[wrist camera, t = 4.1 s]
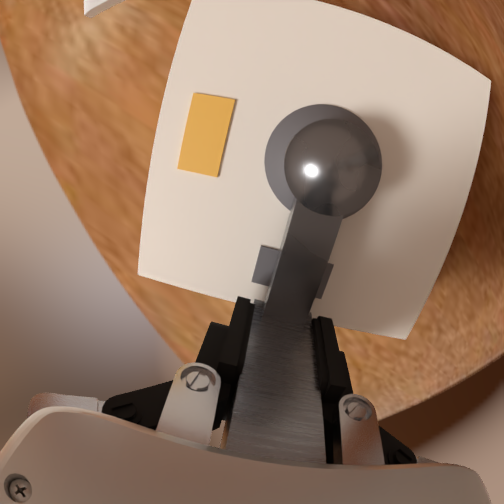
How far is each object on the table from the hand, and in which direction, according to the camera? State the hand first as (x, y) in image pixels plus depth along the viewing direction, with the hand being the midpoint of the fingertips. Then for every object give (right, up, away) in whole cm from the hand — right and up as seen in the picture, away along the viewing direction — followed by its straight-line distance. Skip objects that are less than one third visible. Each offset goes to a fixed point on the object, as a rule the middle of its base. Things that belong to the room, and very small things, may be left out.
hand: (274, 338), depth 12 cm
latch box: (+2, +8, +2) cm, 9 cm away
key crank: (+1, +4, -1) cm, 4 cm away
